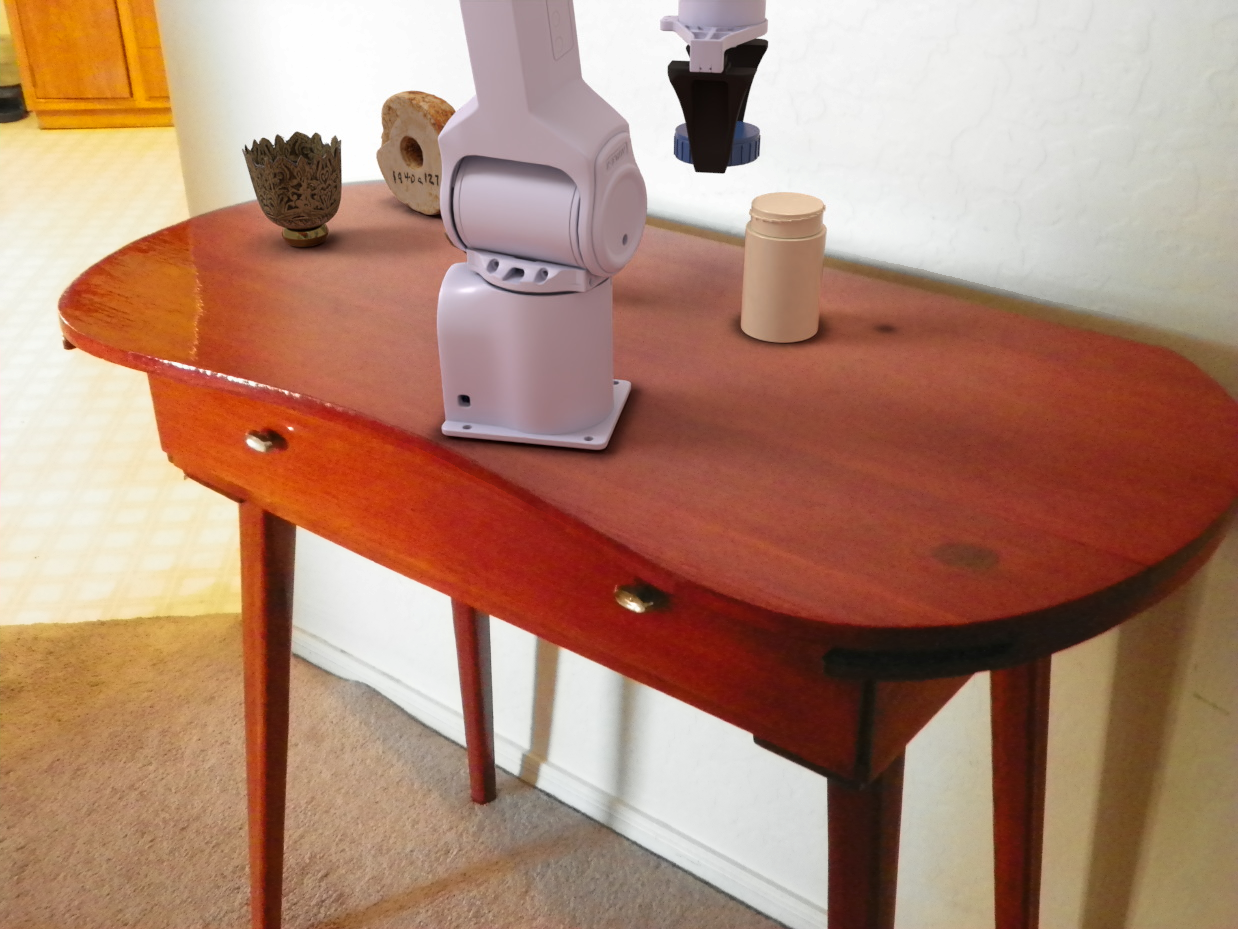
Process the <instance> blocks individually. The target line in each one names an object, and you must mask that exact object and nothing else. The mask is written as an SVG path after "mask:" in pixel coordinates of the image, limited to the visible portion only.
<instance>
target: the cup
mask: <svg viewBox="0 0 1238 929" xmlns="http://www.w3.org/2000/svg"><path fill="white" fill-rule="evenodd" d="M241 151H242V154H243V157H244V160H245V164H246V167H247V171H248V175H249V178H250V181H251V185H252V188H253V190H254V194H255V198H256V199H257V202H258V206H259V207H260V209H261V211H262V213H263V214H264V216H265V217H266V218H267V219H268V220H269V221H270V222H271V223H273V224H274V225H277V226H278V227H281V228H282V230H281V237H282V239H283V240H284V242H285V243H286V244H287V245H289V246H292V247H295V248H309V247H310V248H311V247H314V246H318V245H321V244H323V243H324V242H325V241H326V240H327V239H328V236H329V233H330V229H329V227H328V225H327V223H328V222H330V221H331V220H332V219H333V218H334V217H335V216H336V215H337V213H338V211H339V208H340V205H341V200H342V190H343V189H342V188H343V187H342V185H343V184H342V182H343V179H342V178H343V177H342V174H343V173H342V171H343V170H342V169H343V168H342V139H339V138H338V136H337V135H334V136H332V137H331V140H330V142H325V143H324V142H323V139H322V135H321V134H320V133H318V132H314V133H313V134H312V135H311V137H310V136H309V135H308V134H306V133H303V132H300V131H294V133H293V134H291V136H289V138H288V139H287V140H286V139H285V136H282V135H280V134H279V133H277V134H275V137H274V142H273V143H272V141H270V139H268V138H266V137H262V138H260V140H259V141H257V140H256V139H255V138H254V139H253V141H252V145H251V147H250V148H248V146H247V144H246V143H245V144H244V148H241Z"/></svg>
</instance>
